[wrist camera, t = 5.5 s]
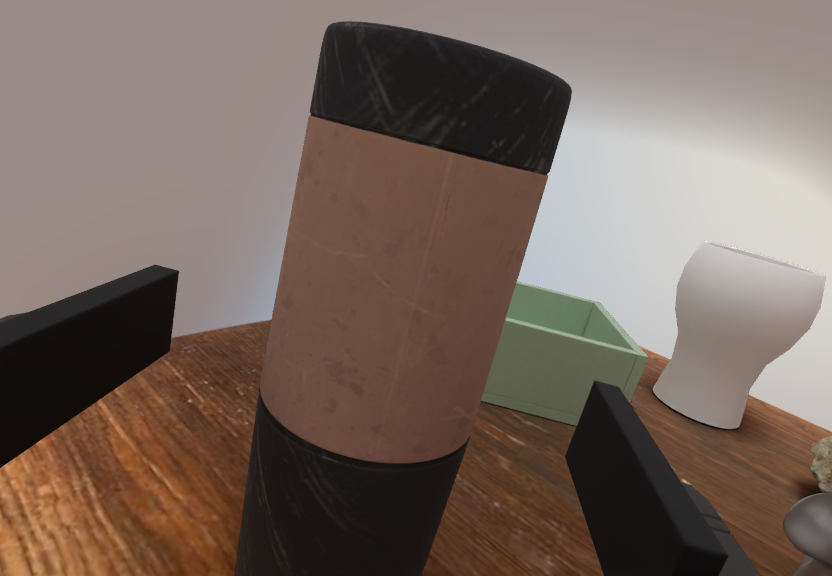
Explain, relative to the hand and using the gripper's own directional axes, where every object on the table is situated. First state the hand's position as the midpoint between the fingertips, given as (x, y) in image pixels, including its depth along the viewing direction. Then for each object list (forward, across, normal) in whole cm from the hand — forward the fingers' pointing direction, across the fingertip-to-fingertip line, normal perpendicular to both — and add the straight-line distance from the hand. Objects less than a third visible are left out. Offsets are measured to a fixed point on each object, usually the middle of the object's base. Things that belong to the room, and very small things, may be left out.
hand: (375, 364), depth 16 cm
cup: (+32, +28, -11) cm, 44 cm away
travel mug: (+2, 0, -11) cm, 11 cm away
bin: (+28, +11, -11) cm, 32 cm away
